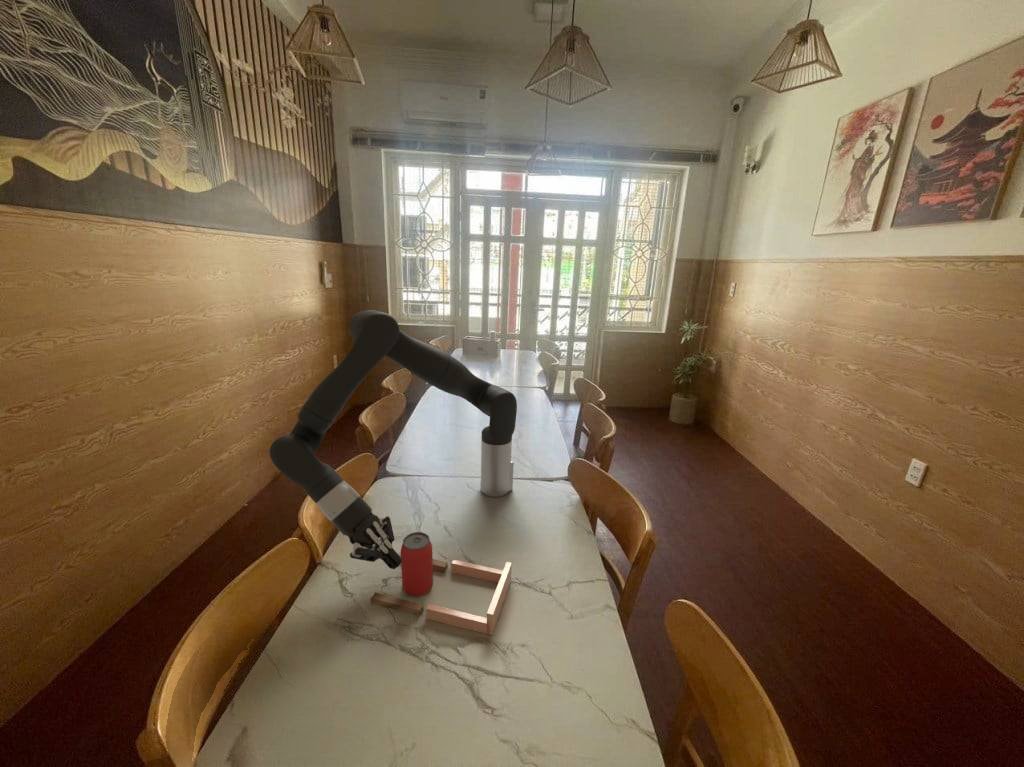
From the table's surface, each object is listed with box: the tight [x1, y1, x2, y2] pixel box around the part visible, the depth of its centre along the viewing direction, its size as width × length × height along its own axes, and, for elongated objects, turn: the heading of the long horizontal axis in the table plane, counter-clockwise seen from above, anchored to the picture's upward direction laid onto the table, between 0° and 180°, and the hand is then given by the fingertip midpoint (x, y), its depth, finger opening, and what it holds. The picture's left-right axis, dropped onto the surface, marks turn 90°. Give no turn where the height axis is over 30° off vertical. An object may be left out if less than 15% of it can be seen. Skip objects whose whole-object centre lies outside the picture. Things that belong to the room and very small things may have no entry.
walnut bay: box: [370, 558, 449, 617], centre depth 90 cm, size 11×14×2 cm
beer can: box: [400, 531, 434, 597], centre depth 88 cm, size 7×7×12 cm
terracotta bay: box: [425, 559, 513, 636], centre depth 86 cm, size 14×14×5 cm
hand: (398, 565), depth 90 cm, fingers closed
